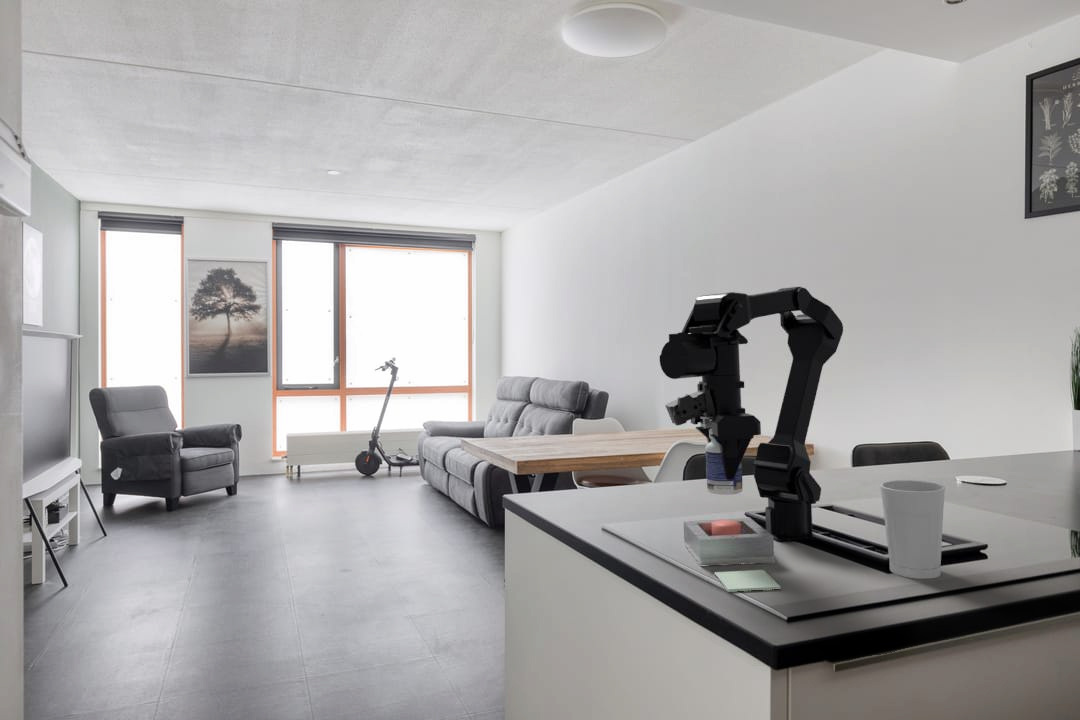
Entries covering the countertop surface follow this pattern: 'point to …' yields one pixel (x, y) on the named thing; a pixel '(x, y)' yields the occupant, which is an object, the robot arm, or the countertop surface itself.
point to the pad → (746, 580)
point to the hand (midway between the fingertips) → (724, 475)
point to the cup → (913, 527)
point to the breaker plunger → (726, 528)
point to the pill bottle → (720, 472)
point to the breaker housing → (729, 543)
